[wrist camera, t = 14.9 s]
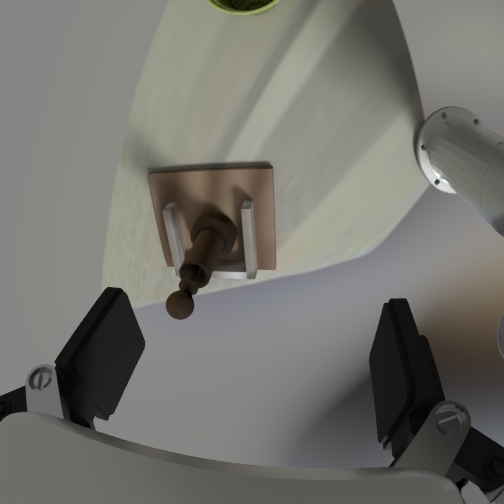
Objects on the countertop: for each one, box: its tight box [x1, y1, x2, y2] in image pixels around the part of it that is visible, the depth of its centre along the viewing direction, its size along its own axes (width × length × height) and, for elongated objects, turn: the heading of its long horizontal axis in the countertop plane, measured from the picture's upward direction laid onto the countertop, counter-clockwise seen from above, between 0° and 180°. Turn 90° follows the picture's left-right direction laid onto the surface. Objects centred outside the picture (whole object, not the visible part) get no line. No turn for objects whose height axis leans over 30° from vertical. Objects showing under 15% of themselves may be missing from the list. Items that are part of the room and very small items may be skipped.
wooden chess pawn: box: [166, 212, 237, 320], centre depth 39 cm, size 7×6×18 cm
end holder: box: [148, 167, 276, 279], centre depth 45 cm, size 18×16×4 cm
